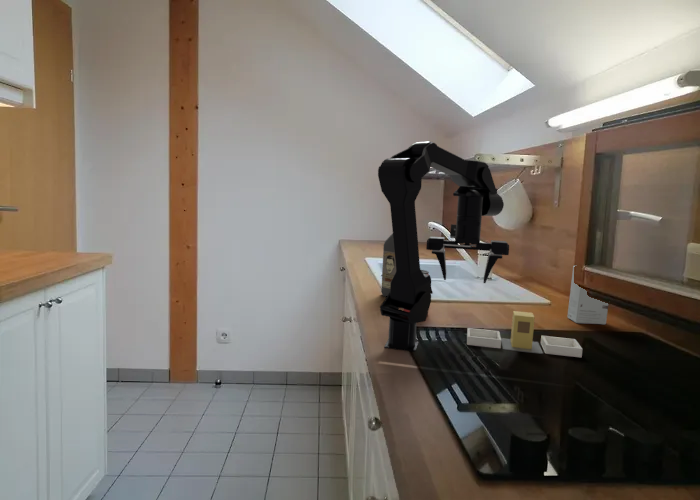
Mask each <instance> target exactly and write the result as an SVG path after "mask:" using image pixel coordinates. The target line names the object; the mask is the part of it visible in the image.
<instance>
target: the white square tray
mask: <svg viewBox="0 0 700 500" xmlns="http://www.w3.org/2000/svg"><path fill="white" fill-rule="evenodd" d="M540 346H541V347H542V349H543V350H542V351H543V353H545V354H547V355H556V356H565V357H572V358H573V357H575V358H582V356H583V347H582V346H581V345H580V343H579V342H578V341H577V339H575V338H568V337H567V338H566V337H557V336H549V335H541V338H540Z"/></svg>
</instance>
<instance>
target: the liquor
mask: <svg viewBox="0 0 700 500" xmlns="http://www.w3.org/2000/svg"><path fill="white" fill-rule="evenodd" d="M382 249H383V254H382V271H381V272H382V273H381V288H380V291H381V294H382V297H385V298H386V296H388V294H389V293H390V284H391V281H392V279H393V277H394V275H395V273H396V261H395V251H394V240H393V233H391V235H389V237H388V238H387V239H386V240H385V241H384V243H383V248H382Z"/></svg>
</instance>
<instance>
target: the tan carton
mask: <svg viewBox="0 0 700 500" xmlns="http://www.w3.org/2000/svg"><path fill="white" fill-rule="evenodd" d="M511 319H512V321H511V329H510V331H511V333H510V339H511V345H512V347H517V348H526V349H532V341H533V342H534V339H533V338H534V328H535V327H534V325H535V315H534V313H533V312H530V311H529V312H527V311H517V310H513V311H512V318H511Z"/></svg>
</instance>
